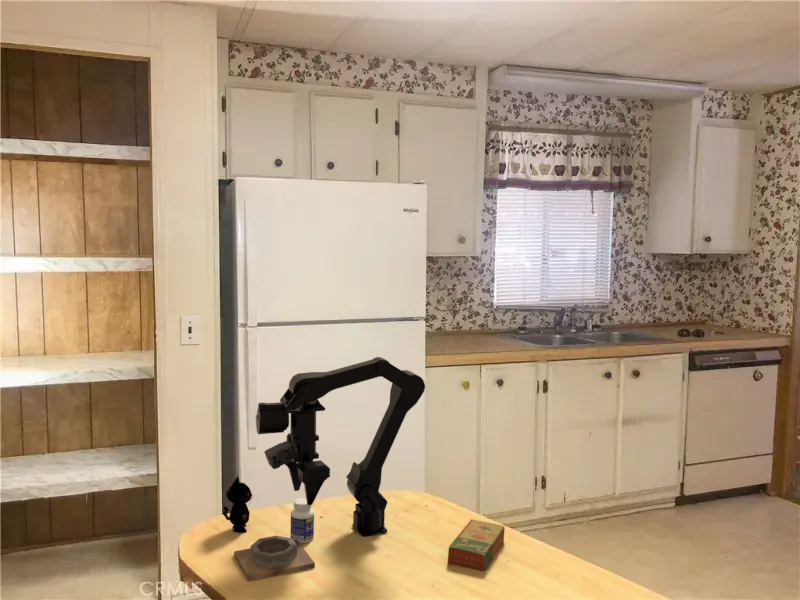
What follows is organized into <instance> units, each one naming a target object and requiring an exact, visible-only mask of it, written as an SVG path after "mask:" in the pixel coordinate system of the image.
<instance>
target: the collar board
mask: <svg viewBox="0 0 800 600" xmlns="http://www.w3.org/2000/svg"><path fill="white" fill-rule="evenodd" d="M233 556H234V558H235V560H236V562H237V564H238V565H239V568H240V569H241V571H242V573H243V575H244V576H245V578H246V580H247V582H252V581H256V580H257V581H258V580H261V579H266V578H271V577H276V576H280V575H287V574H289V573H295V572H299V571H305V570H310V569H313V568H316V567H315V565H316V564H315V561H314V560H313V559H312V557H311V556H310V554H309V553H308V552H307V551H306V549H305V548H304V547H303V545H301V543H299V542H298V541H297V540H293V539H292V538H291V537H286V536H282V535H272V536H266V537H261V538H260V537H259V539H257V540H256V541H255V542H253V543H252V544H251V545H250V547H249V548H244V549H240V550H239V549H238V550H234V552H233Z"/></svg>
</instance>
